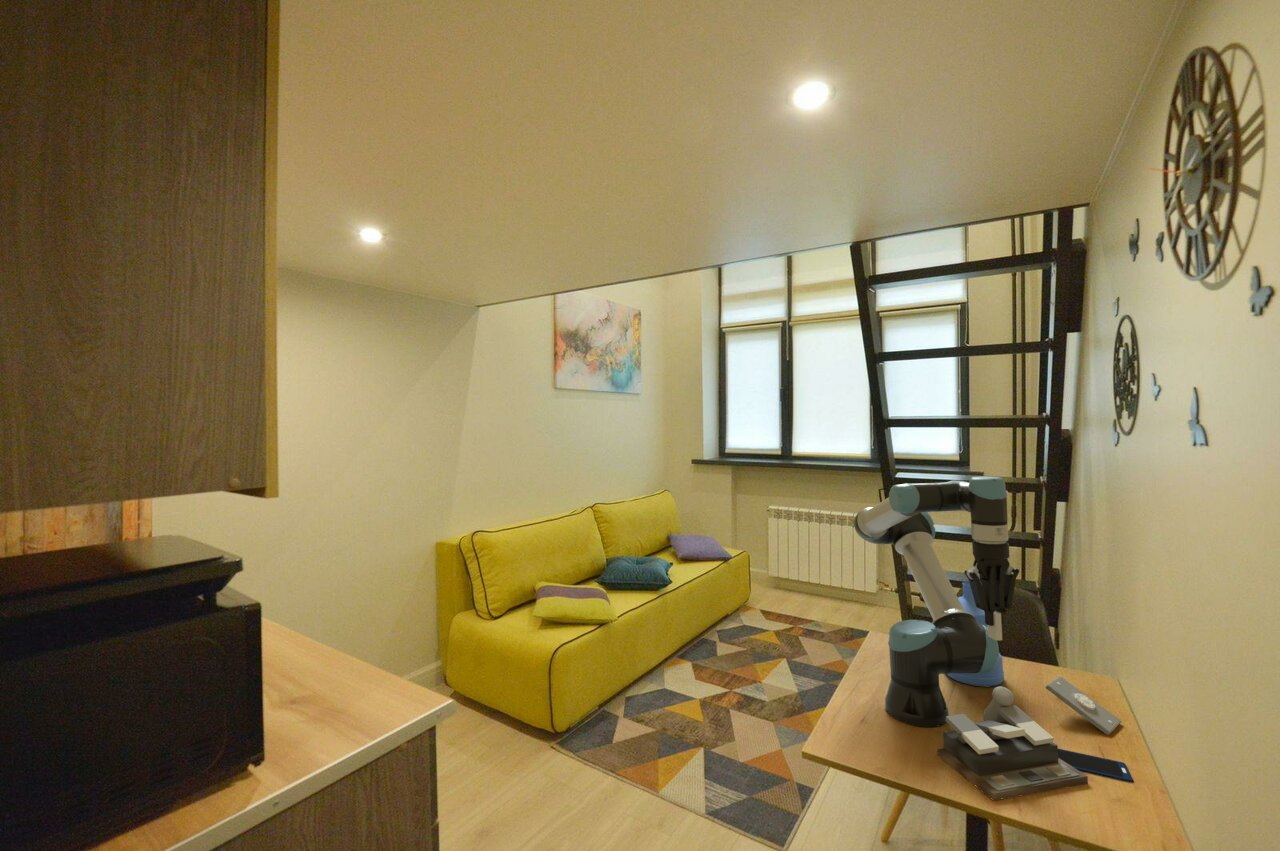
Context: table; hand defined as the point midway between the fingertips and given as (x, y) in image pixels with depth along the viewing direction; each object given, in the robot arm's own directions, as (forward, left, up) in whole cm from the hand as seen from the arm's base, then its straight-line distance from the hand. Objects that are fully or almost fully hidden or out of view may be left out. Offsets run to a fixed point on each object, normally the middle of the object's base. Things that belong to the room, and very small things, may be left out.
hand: (995, 638), depth 131 cm
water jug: (-31, +20, -25) cm, 44 cm away
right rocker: (+6, 0, -19) cm, 20 cm away
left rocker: (+6, -14, -19) cm, 24 cm away
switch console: (+9, -7, -25) cm, 27 cm away
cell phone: (+12, +11, -26) cm, 30 cm away
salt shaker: (-5, +3, -24) cm, 25 cm away
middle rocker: (+7, -7, -19) cm, 22 cm away
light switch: (-3, +28, -25) cm, 37 cm away
